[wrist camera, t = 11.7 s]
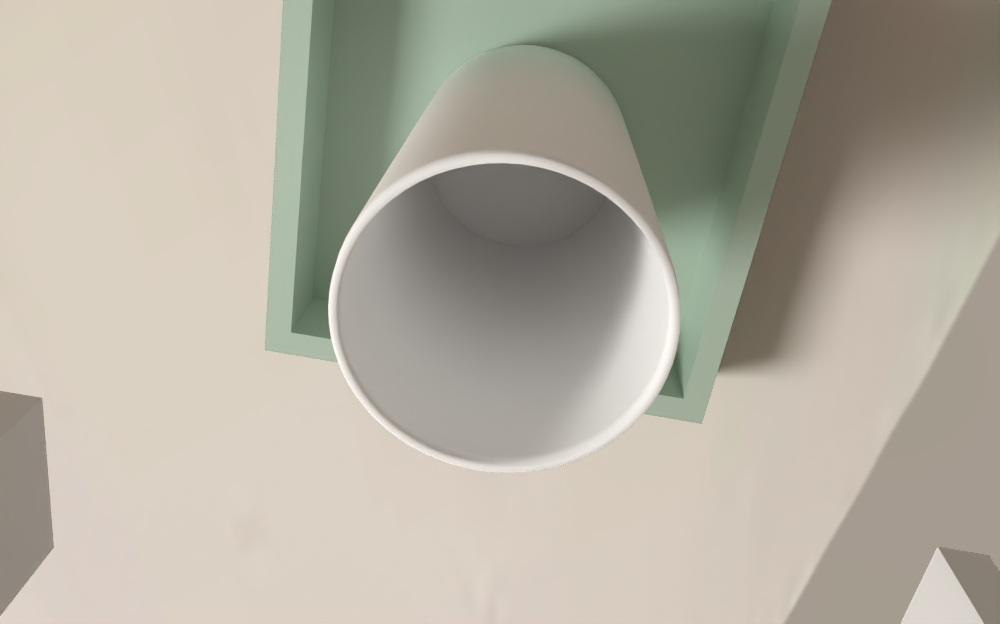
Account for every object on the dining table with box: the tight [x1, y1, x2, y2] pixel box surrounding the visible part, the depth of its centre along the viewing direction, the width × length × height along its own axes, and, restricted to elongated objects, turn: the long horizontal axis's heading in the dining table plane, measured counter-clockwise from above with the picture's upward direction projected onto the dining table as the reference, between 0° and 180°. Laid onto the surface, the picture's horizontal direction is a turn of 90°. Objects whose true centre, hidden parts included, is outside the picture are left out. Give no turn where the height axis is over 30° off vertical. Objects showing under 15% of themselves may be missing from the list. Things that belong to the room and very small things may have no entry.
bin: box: [265, 0, 832, 424], centre depth 33 cm, size 18×18×4 cm
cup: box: [328, 45, 681, 473], centre depth 27 cm, size 8×8×16 cm
